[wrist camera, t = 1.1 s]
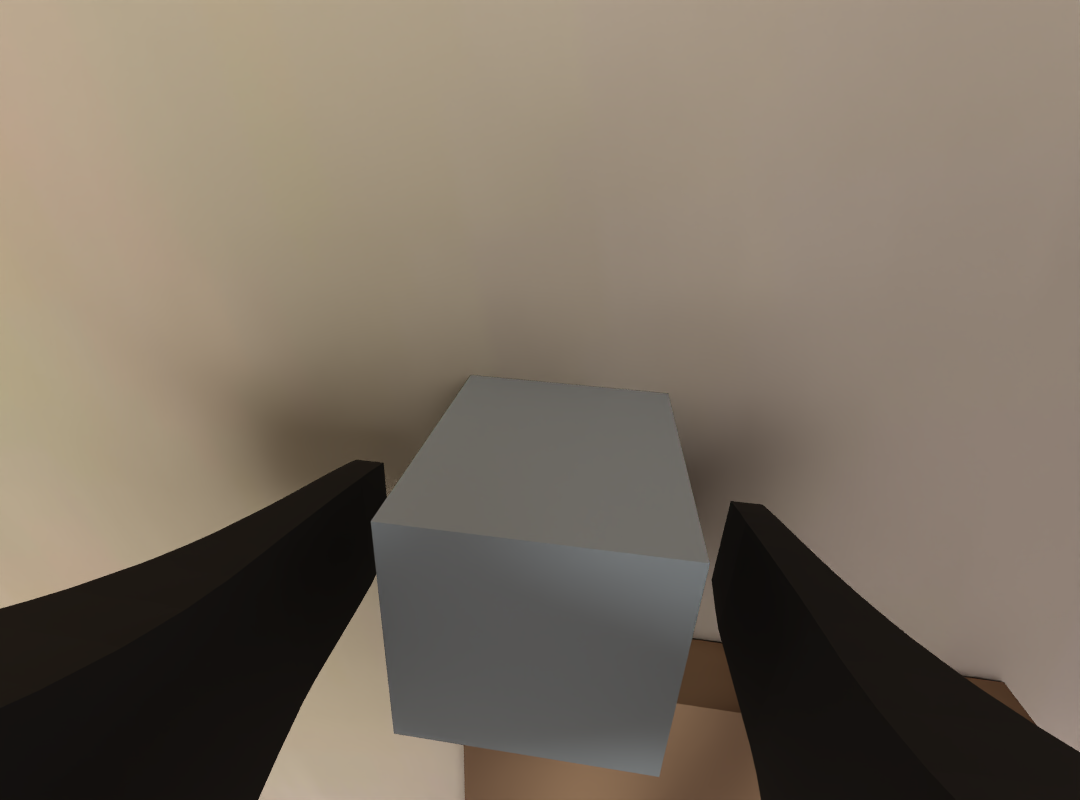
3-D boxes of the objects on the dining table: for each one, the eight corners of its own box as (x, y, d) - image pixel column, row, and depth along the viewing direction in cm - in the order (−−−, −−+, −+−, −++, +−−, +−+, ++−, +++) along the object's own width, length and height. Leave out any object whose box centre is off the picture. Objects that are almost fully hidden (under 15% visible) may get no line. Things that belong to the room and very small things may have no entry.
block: (667, 392, 12) (709, 563, 7) (642, 550, 13) (659, 777, 8) (471, 374, 12) (370, 520, 7) (472, 530, 14) (394, 733, 9)
